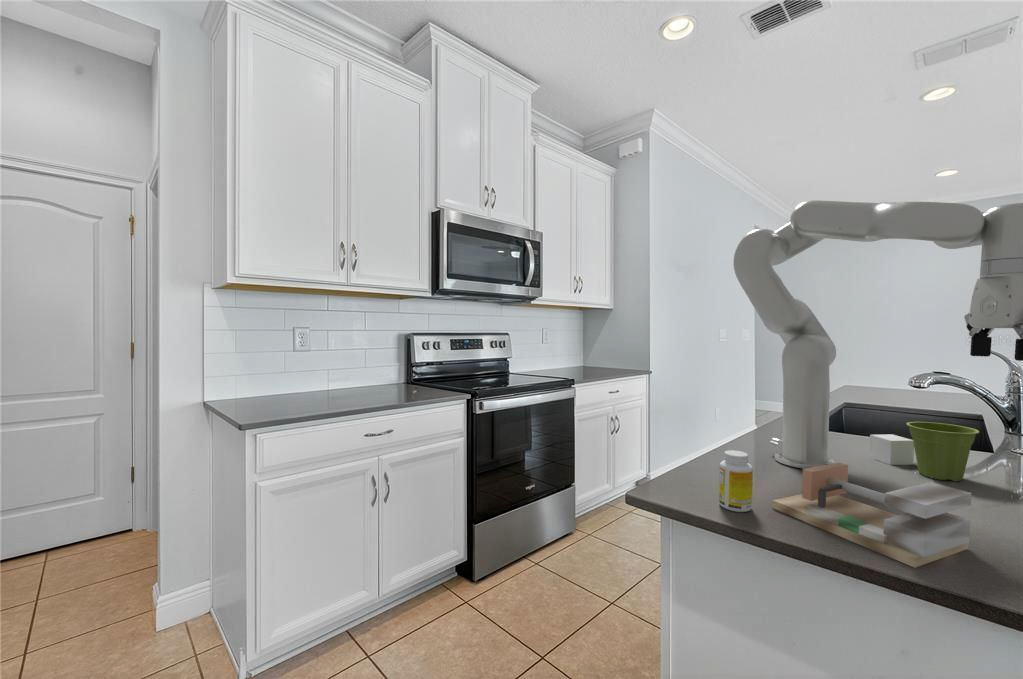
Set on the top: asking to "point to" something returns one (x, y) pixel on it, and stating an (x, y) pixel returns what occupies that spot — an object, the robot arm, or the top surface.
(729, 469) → the supplement bottle
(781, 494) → the top surface
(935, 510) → the frame
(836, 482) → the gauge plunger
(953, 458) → the plant pot
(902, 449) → the white cube
